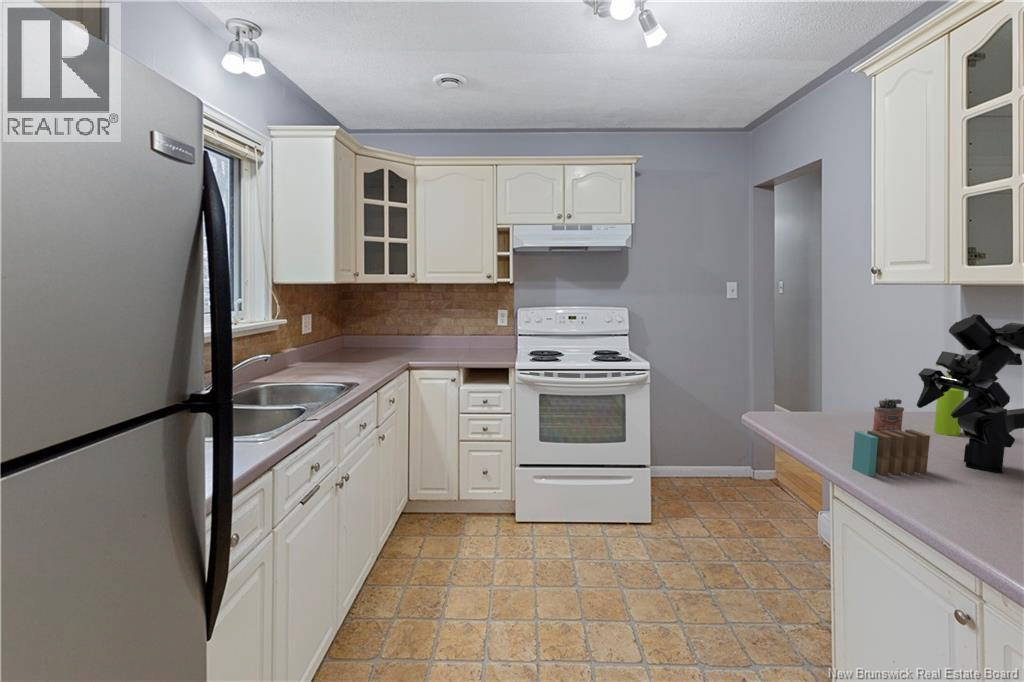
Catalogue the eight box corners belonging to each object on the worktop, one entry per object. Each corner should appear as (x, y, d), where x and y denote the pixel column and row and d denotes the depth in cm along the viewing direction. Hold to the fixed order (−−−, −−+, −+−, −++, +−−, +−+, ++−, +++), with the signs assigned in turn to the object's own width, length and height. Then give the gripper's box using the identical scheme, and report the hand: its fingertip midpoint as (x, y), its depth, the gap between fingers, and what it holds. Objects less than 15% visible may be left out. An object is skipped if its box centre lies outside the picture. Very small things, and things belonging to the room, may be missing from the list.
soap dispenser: (935, 428, 159) (942, 361, 157) (964, 434, 153) (970, 365, 151) (925, 430, 156) (932, 363, 154) (954, 436, 150) (960, 366, 148)
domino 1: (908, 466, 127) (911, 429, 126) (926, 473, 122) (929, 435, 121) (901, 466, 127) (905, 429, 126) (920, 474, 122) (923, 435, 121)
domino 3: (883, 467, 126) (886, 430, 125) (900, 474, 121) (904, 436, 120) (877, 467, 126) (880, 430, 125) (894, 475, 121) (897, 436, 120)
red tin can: (877, 434, 153) (880, 400, 151) (869, 431, 156) (871, 397, 155) (905, 434, 153) (907, 400, 152) (896, 431, 156) (899, 397, 155)
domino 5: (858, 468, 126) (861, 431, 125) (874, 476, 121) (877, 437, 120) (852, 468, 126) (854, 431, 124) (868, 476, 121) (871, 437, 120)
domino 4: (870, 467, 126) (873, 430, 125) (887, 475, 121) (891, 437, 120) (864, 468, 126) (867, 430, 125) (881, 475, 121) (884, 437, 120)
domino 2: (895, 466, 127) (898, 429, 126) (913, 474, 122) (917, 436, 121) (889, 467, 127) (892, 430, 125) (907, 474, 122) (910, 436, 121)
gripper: (929, 335, 132) (883, 379, 132) (1005, 345, 113) (950, 396, 114) (955, 367, 133) (909, 410, 134) (1034, 382, 115) (980, 432, 115)
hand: (934, 411), depth 124 cm, fingers open, 9 cm apart
